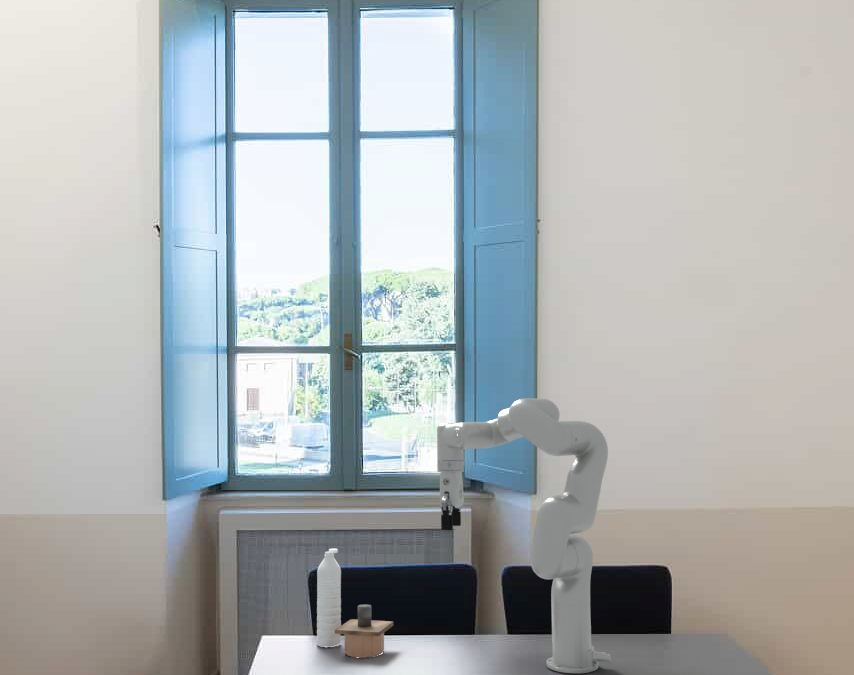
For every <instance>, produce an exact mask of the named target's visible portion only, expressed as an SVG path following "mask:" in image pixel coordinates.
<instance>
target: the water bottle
mask: <svg viewBox="0 0 854 675" xmlns="http://www.w3.org/2000/svg"><path fill="white" fill-rule="evenodd" d="M338 553H339V549H338V548H329V549H328V551H325V552H324V558H323V559H322V561H321V562H320V564H319V565H318V568H317V569H316V570H317V571H316V574H317V575H316V577H317V582H316V583H317V584H316V587H317V588H316V592H317V593H316V594H317V595H316V597H317V598H316V600H317V601H316V606H317V607H316V614H317V616H316V628H317V629H316V635H317V636H316V645H317V644H318V645H320V646H334V645H337V644H339V643H340V642H341V643H342V634H335V629H337V628H338V627H340V626H341V625H342V620H341V618H342V615H341V613H342V607H341V606H342V598H341V596H342V594H341V593H342V591H341V589H342V585H341V584H342V582H341V581H342V569H341V567H340V565H339V563H338V562H337V560H336V558H335V557H334V556H335V554H338Z"/></svg>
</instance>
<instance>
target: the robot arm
mask: <svg viewBox="0 0 854 675" xmlns="http://www.w3.org/2000/svg"><path fill="white" fill-rule="evenodd" d="M559 420H560V410H559V408H558V406H557V405H556V404H555V402H553V401H552V400H549V399H546V398H534V397H533V398H520V399H518V400H516V401H513V403H512V404H511V405H510V406H509V407H508V408H504V409H501V411H500V412H499V413H498V416H497V418H495V419H493V420H488V421H466V422H465V421H464V422H443V423H439V424H438V426H437V428H436V445H437V446H436V449H437V451H436V452H437V454H436V455H437V459H436V460H437V464H436V466H437V473H440V475H439V478H440V479H439V505H440V508H441V511H440V515H441V517H440V519H441V520H440V523H441V524H440V528H441V529H440V530H442V531H452V530H453V529H454V527H460V526H461V525H462V516H461V514H462V512H461V507H463V505H464V502H465V501H464V500H465V498H464V482H463V473H464V472H465V470H464V469H465V468H464V467H465V466H464V465H465V462H464V453H465V452H464V450H475V449H476V450H478V449H479V450H481V449H483V450H484V449H490V448H494V447H495V448H496V447H498V446H502V445H505V444H509V443H511V442H513V441H515V440H518V439H521V438H524V439H526V441H528V442H530V443H531V444H532V445H534V446H535V447H536V448H538V449H539V450H541V452H543V453H545V454H547V455H549V456H553V457H563V456H564V457H565V456H575V459H574V461H573V463H572V464H571V466H570V469H569V471H568V473H567V476H566V482H565V487H564V490H563V493H562V494H558V495H554V496H553V495H552V496H549V497H548V498H547V499H545V500H544V501H543V503H542V504H541V505H540V507H539V509H538V512H537V515H536V519H535V524H534V531H533V535H532V540H531V546H530V551H529V561H530V562H529V563H530V566H531V569H532V571H533V572H534V573H535V575H536V576H538V577H539V578H541V579H544V580H552V585H551V591H550V592H551V594H550V596H551V598H550V599H551V600H550V602H551V605H550V606H551V641H552V642H551V643H552V644H551V646H552V651H551V652H552V656H551V657H550V656H549V657H548V658H547V659H546V660H545V661H546V662H545V663H546V667H547V668H548V669H550V670H551V671H555V672H558V673H564V674H586V673H592V672H595V671H596V670H598V669H599V662H601V663H608V664H609V663H611V653H606V652H605V651H603V652H601V651H600V652H599V651H596V650H595V649H594V645H592V625H591V575H592V569H593V561H594V560H593V559H594V555H593V549H592V547H591V545H590V544H589V542H588V541H587V540H586V539H585V538H583V537H582V536H580V535H577V534H578V533H583V532H586V531H588V530H590V529H591V528H592V527H593V525H594V523H595V520H596V515H597V509H598V505H599V499H600V494H601V489H602V485H603V484H602V483H603V478H604V475H605V471H606V467H607V464H608V463H607V462H608V457H609V449H608V442H607V440H606V437H605V435H603V433H602V431H601V430H600V429H599V428H598V427H597V426H595V425H594V424H592V423H590V422H587V421H580V420H562V421H561V420H560V421H559Z"/></svg>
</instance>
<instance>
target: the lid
mask: <svg viewBox="0 0 854 675" xmlns="http://www.w3.org/2000/svg"><path fill="white" fill-rule="evenodd" d="M393 626H394V621H391V620H390V621H388V620H387V621H386V620H372V605H371V604H359V605H357V618H356V619H355V618H354V619H353V618H351V619H349V620H348V621H346V622H345V623H343V624H341V626H340V627H338V628H337V629H335V634H341V635H345V634H347V635H363V636H380V635H381V634H383V633H384V634H385V633H386V632H387V631H388V630H390V629H391V628H392V627H393Z"/></svg>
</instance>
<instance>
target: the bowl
mask: <svg viewBox="0 0 854 675" xmlns="http://www.w3.org/2000/svg"><path fill="white" fill-rule="evenodd" d="M384 650H385V632H384V633H383V634H381V635H380V636H363V635H347V634H344V654H345V653H346V654H347V655H348V656H351V657H350V658H352V657H359V658H358V659H368V658H367V657H373V656H377V655H379V654H381V653H382V652H383V653H384ZM348 656H347V657H348ZM377 657H378V656H377ZM373 658H374V657H373Z"/></svg>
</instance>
